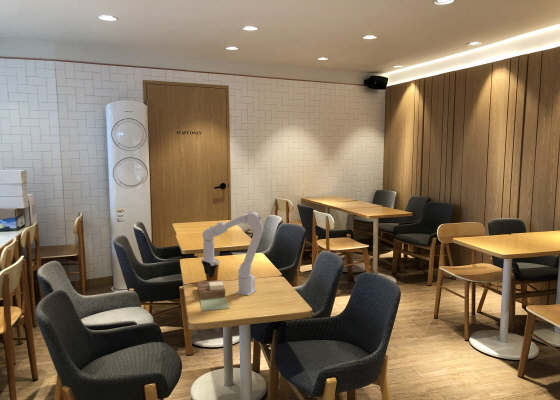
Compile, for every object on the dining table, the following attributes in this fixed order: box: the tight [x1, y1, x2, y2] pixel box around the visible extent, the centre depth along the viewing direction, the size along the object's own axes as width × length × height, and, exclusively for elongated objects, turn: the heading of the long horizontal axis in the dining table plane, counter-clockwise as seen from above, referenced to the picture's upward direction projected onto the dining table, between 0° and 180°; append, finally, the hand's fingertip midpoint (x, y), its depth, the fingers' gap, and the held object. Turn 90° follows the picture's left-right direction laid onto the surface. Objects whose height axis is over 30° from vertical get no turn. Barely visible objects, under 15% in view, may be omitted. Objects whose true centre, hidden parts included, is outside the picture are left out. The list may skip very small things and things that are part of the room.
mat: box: [199, 296, 230, 312], centre depth 215 cm, size 17×13×1 cm
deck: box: [197, 279, 226, 300], centre depth 232 cm, size 20×13×4 cm, turn 14°
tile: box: [209, 280, 225, 290], centre depth 228 cm, size 7×7×2 cm
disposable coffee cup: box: [205, 258, 220, 281], centre depth 256 cm, size 10×10×12 cm
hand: (209, 275), depth 232 cm, fingers open, 7 cm apart
